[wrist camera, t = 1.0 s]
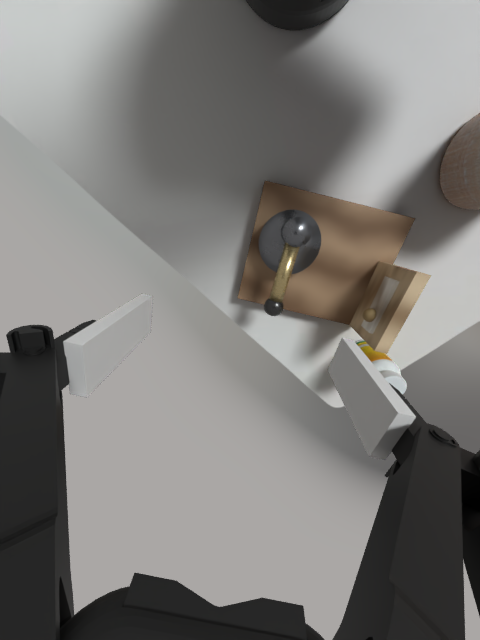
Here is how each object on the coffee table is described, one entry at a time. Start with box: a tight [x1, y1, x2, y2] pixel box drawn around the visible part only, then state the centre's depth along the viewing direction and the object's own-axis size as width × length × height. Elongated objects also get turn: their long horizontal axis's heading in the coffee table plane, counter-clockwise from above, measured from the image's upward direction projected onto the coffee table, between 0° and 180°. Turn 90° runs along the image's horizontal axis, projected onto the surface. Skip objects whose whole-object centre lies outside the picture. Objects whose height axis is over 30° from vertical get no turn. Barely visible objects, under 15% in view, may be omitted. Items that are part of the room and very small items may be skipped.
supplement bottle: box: [355, 340, 407, 394], centre depth 35 cm, size 5×5×10 cm
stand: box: [238, 181, 431, 354], centre depth 29 cm, size 16×20×10 cm
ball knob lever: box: [259, 210, 321, 316], centre depth 30 cm, size 13×8×6 cm, turn 167°
